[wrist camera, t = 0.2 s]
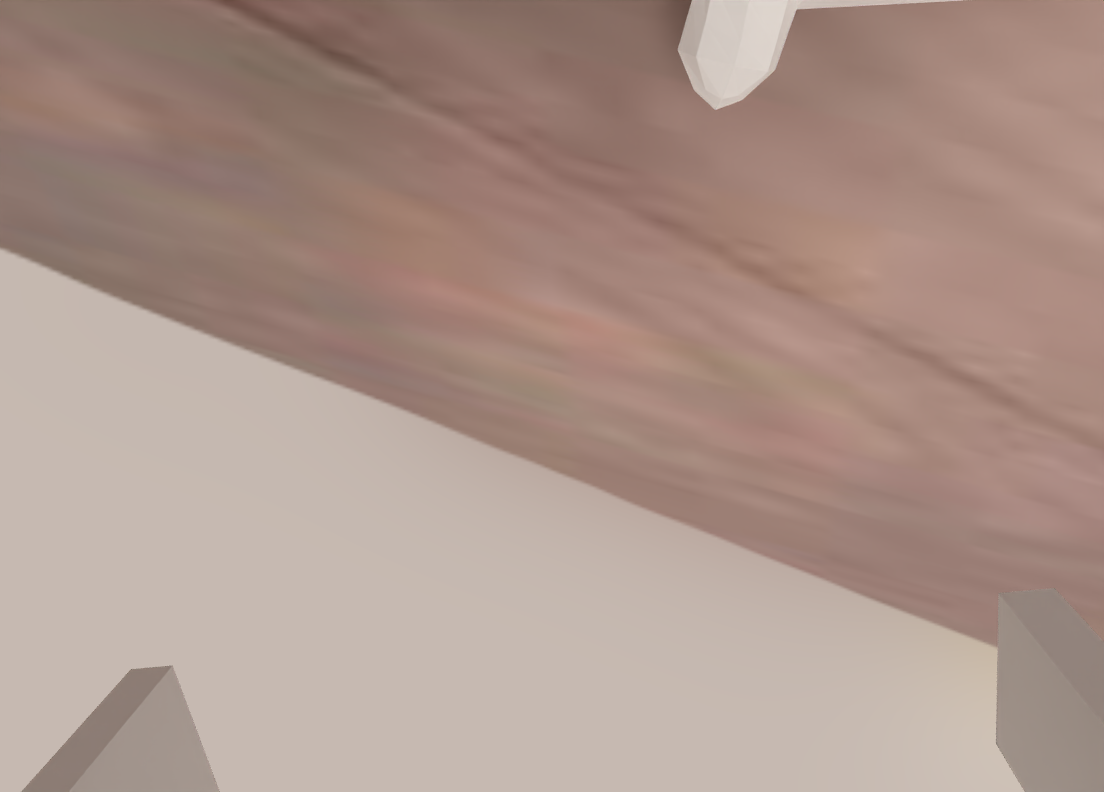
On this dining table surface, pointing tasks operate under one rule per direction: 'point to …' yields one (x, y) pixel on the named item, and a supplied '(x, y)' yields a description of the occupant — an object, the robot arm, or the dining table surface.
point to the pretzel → (743, 42)
